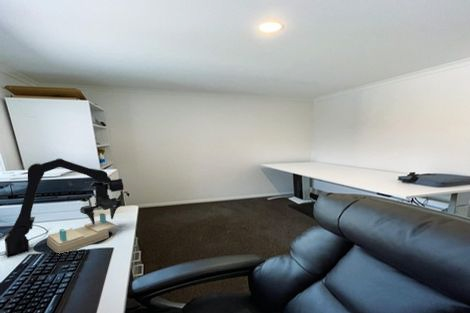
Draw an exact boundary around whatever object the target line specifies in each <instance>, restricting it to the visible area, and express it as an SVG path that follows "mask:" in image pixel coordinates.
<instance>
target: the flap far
mask: <svg viewBox="0 0 470 313" xmlns="http://www.w3.org/2000/svg"><path fill="white" fill-rule="evenodd" d="M106 215H107V214H105V213H101V212H100V213H99V220H97V221H95V224H94V225H93V223H92V222H90V223H86V224H84V226H86V227H88V228H90V229H92V230H94V231H96V232H100V231H103V230H106V229H108V230H109V229H113V228H115V227H117V226H118V225H117V224H116V223H113V222H111V221H108V220H107V216H106Z"/></svg>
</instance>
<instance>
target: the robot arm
mask: <svg viewBox="0 0 470 313" xmlns="http://www.w3.org/2000/svg"><path fill="white" fill-rule="evenodd" d="M58 168H61V169H65V170H68V171H72V172H75V173H78V174H81V175H84V176H87V177H89V178H91V179H93V180H95V181H93V182H92V183H91V184H90V186H91V187H93V188H94V192H95V193H94V199H95V202H94V206H92V205H85V206H81V207H80V209H79V212H80V213H81V214H83V215H86V216H87V217H88V218H89V220H90V221H91V222H90V223H93V225H94V224H95V222H96V221H95V212H94V211H95V210H100V209H103V211H107V210H109V211H110V212H109V213H110V219H111V220H114V217H115V213H116V211H117V209H119V208H120V207H121V206H123V202H122V200H121V199H118V198H116V197H113V198H110V194H109V191H110V192H111V193H114V192H120V191H121V192H122V191H124V183H123V179H122V178H117V179H111V177H110V178H109V177H108V176H109V175H108V173H107V171H104V170H103V169H97V168H91V167H87V166H83V165H81V164H77V163H74V162H71V161H68V160H65V159H63V158H56V159H54V160H50V161H47V162H43V163H40V162H39V163H38V162H36V163H33V164H31V165H30V166H29V167H28V169H27V186H26V188H25V189H26V190H25V192H24V197H23V201H22V203H21V208H20V212H19V213H18V214H19V215H18V217H17V219H16V220H15V222H14V224H13V226H12V228H11V229H10V231H8V232H7V234H6V236H5V238H4V239H3V240H4V244H5V245H4V246H5V247H4V248H5V252H4V254H5V255H6V257H7V258H11V257H14V256H18V255H21V254H24V253H27V252H29V250H30V241H29V239H28V238H27V235H28V234H29V232H30V230H33V227H34V222H35V220H36V219H35V218H36V216H32V210H33V207H34V203H35V199H36V196H37V193H38V187H39V185H40V182H41V181H42V178H43V177H44V174H45V173H46V172H49V171H53V170H54V169H58ZM96 181H97V182H96Z"/></svg>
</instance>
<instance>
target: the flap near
mask: <svg viewBox="0 0 470 313" xmlns="http://www.w3.org/2000/svg"><path fill="white" fill-rule="evenodd" d="M73 229H74V228H69V229H66V230H65V229H64V228H60V229H59V231H58V232H55V233H51V234H48V235H47V237H50V238H51V239H52V240H54V241H55V242H56V243H58V244H59V245H60V244H63V243H67V242H70V241H73V240H76V239H79V238H82V237H84V235H82V234H80V233H79V232H77V231H75V230H73Z"/></svg>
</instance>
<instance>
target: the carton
mask: <svg viewBox="0 0 470 313" xmlns="http://www.w3.org/2000/svg"><path fill="white" fill-rule="evenodd" d="M72 229H73V230H75V231H77V232H79V233H80V234H82V235H84V237H82V238H79V239H76V240H73V241H70V242H67V243H63V244H60V245H59V244H58V243H56V242H55V241H54V240H52V239H51V238H50V237H48V236H47V237H46V244H47V247H49V248H50V249H51V250H52V251H53V252H54V253H56V254H57V253H59V254H60V253H64V252H67V253H69V251H70V252H73V251H76V250H78V249H81V248H83V247H87V246H89V245H92V244H95V243H97V242H98V243H99V242H100V241H103V240H105V239H108V238H109V237H110V235H109V229H106V230H103V231H100V232H96V231H94V230H92V229H90V228H88V227H86V226H85V225H84V226H80V227H77V228H72ZM59 254H58V255H59ZM64 254H65V253H64Z"/></svg>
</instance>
